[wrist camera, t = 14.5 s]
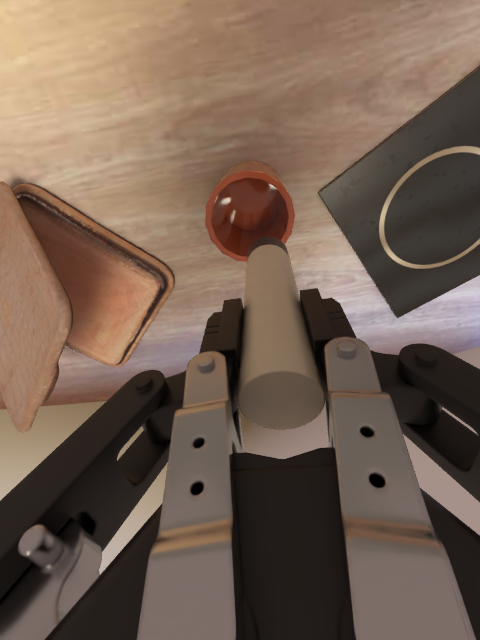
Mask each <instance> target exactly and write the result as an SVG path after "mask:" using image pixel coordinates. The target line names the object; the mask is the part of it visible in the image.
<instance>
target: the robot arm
mask: <svg viewBox="0 0 480 640" xmlns="http://www.w3.org/2000/svg"><path fill="white" fill-rule="evenodd" d="M300 303H301V307H302V311H303V314H304V318H305V322H306V326H307V330H308V334H309V338H310V341H311V345H312V349H313V353H314V357H315V360H316V362H317V366H318V370H319V373H320V377H321V381H322V385H323V389H324V392H325V399H326V417H327V430H328V442H329V448H319V449H316V450H313V451H309V452H306V453H303V454H300V455H297V456H293V457H290V458H287V459H277V458H272V457H266V456H261V455H256V454H251V453H244V450H243V440H242V431H241V421H240V412H239V408H238V387H239V372H240V359H241V344H242V329H243V313H244V309H243V304H242V300H241V298H238V299H231V300H224V304H223V310H222V312H215V313H213V314H212V316H211V317H210V318H209V319H208V321H207V325H206V329H205V335H204V337H203V341H202V345H201V349H200V353H199V354H198V355H196V356H195V357H193V358H192V359H191V360H190V361H189V363H188V365H187V369H186V371H184V372H182V373H180V374H177V375H174V376H171V377H168V378H165V377H164V375H163V374H162V373H161V372H160V371H157V370H148V371H144V372H141V373H139V374H137V375H135V376H134V377H133V378H131V379H130V380H129V381H128V382H127V383H126V384H125V385H124V386H123V387H122V388H121V389H119V390H118V391H117V392H116V393H115V394H114V395H113V396H112V397H111V398H110V399H109V400H108V401H107V402H106V403H104V405H102V406H101V407H100V408H99V409H98V410H97V411H96V412H95V413H94V414H93V415H92V416H91V417H89V419H87V420H86V421H85V422H84V423H83V424H82V425H81V426H80V427H79V428H78V429H77V430H76V431H74V432H73V433H72V434H71V435H70V436H69V437H68V438H67V439H66V440H65V441H64V442H63V443H62V444H61V445H59V446H58V447H57V448H56V449H55V450H54V451H53V452H52V453H51V454H50V455H49V456H48V457H47V458H46V459H44V460H43V461H42V462H41V463H40V464H39V465H38V466H37V467H36V468H35V469H34V470H33V471H32V472H31V473H30V474H28V475H27V476H26V477H25V478H24V479H23V480H22V481H21V482H20V483H19V484H18V485H17V486H16V487H14V489H12V490H11V491H10V492H9V493H8V494H7V495H6V496H5V497H4V498H3V499H2V500H1V501H0V640H480V535H478V534H477V533H476V532H475V531H473V530H472V529H471V528H470V527H468V526H467V525H466V524H465V523H463V522H462V521H461V520H459V519H458V518H457V517H456V516H455V515H453V514H452V513H451V512H450V511H448V510H447V509H446V508H445V507H443V506H442V505H441V504H440V503H438V502H437V501H436V500H434V499H433V498H432V497H431V496H430V495H428V494H427V493H426V492H425V491H423V490H422V489H421V488H420V487H419V484H418V481H417V477H416V474H415V471H414V468H413V465H412V462H411V459H410V455H409V453H408V449H407V446H406V443H405V440H404V437H403V434H404V435H405V436H406V437H407V438H409V439H410V440H411V441H412V442H413V443H414V444H415V445H417V447H419V448H420V449H421V450H422V451H423V452H424V453H425V454H427V455H428V456H429V457H430V458H431V459H432V460H433V461H434V462H435V463H437V464H438V465H439V466H440V467H441V468H442V469H443V470H444V471H446V472H447V473H448V474H449V475H450V476H451V477H452V478H453V479H454V480H456V481H457V482H458V483H459V484H460V485H461V486H462V487H463V488H465V489H466V490H467V491H468V492H469V493H470V494H471V495H472V496H473V497H475V498H476V499H477V500H478V501H479V502H480V369H478V368H476V367H474V366H473V365H471V364H469V363H467V362H465V361H463V360H462V359H460V358H458V357H456V356H454V355H452V354H450V353H449V352H447V351H445V350H443V349H441V348H439V347H436V346H433V345H429V344H411V345H408V346H405V347H404V348H402V349H401V351H400V353H399V355H391V354H382V353H377V352H374V351H371V350H370V349H369V347H368V345H367V344H366V343H365V342H363V341H362V340H360V339H357V338H356V336H355V334H354V332H353V330H352V327H351V325H350V323H349V321H348V319H347V318H346V315H345V313H344V312H343V309H342V307H341V305H340V303H338V302H337V301H335V300H334V299H332V298H327V299H322V298H321V296H320V293H319V291H318V288H315V289H307V290H300ZM442 407H444V408H445V409H447V410H448V411H449V412H451V413H452V414H454V415H455V416H456V417H458V418H459V419H461V420H462V421H463V422H465V423H466V424H468V425H469V426H470V427H472V428H473V429H474V430H475V431H476V432H477V434H478V435H479V436H478V435H477V434H475V433H474V432H473V431H471V430H470V429H469V428H467V427H466V426H464V425H463V424H461V423H460V422H459V421H457V420H456V419H455V418H453V417H452V416H450V415H449V414H448V413H446V412H445V411H444V410H442ZM141 426H142V427H143V429H144V431H143V432H142V433H141V434H140V435H139V437H138V438H137V439H136V440H135V441H134V442H133V444H131V446H130V447H129V448H128V449H127V450H126V452H125V453H124V454H123V455H122V456H121V457H120V458H119V460H118V461H117V456H118V454H119V452H120V450H121V449H122V447H123V446H124V445H125V444H126V443H127V442H128V441H129V439H130V438H131V437H132V436H133V435H134V434H135V433H136V431H137V430H138V429H139V428H140V427H141ZM167 462H168V466H167V473H166V481H165V489H164V496H163V503H162V504H161V505H160V507H159V508H158V509H157V510H156V511H155V513H154V514H153V515H152V516H151V517H150V518H149V519H148V520H147V522H146V523H145V524H144V525H143V526H142V527H141V529H140V530H139V531H138V532H137V533H136V534H135V536H134V537H133V538H132V539H131V540H130V541H129V543H128V544H127V545H126V546H125V547H124V548H123V549H122V551H121V552H120V553H119V554H118V555H117V556H116V557H115V559H114V560H113V561H112V562H111V563H110V564H109V566H108V567H107V568H106V569H105V570H104V571H103V572H102V574H101V575H100V576H99V568H100V564H101V560H102V551H103V550H104V549H105V547H106V546H107V545H108V543H109V542H110V541H111V539H112V538H113V536H114V535H115V534H116V532H117V531H118V529H119V528H120V527H121V525H122V524H123V522H124V521H125V520H126V519H127V517H128V516H129V514H130V513H131V511H132V510H133V509H134V507H135V506H136V505H137V503H138V502H139V501H140V499H141V498H142V496H143V495H144V494H145V492H146V491H147V490H148V488H149V487H150V485H151V484H152V483H153V481H154V480H155V479H156V477H157V476H158V475H159V473H160V472H161V470H162V469H163V468H164V466H165V465H166V463H167Z"/></svg>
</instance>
